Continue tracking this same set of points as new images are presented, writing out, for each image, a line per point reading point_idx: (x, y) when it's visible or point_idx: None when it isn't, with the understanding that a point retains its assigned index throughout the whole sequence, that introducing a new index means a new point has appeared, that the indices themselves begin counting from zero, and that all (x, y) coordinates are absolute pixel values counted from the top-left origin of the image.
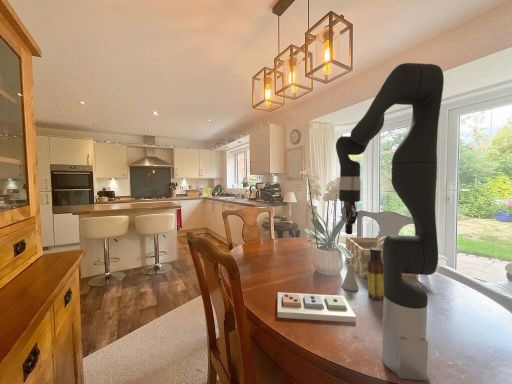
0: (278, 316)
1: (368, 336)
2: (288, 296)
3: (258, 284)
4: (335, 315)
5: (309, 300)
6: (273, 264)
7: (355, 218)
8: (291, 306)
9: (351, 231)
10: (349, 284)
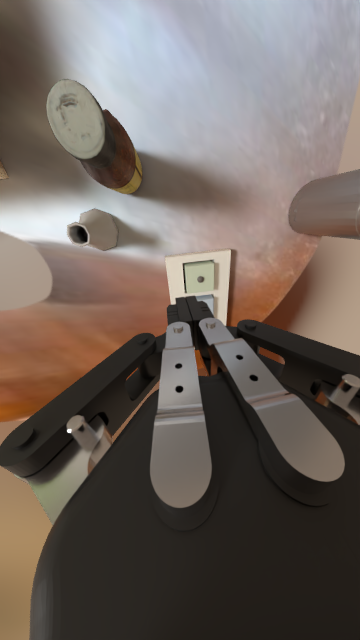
0: None
1: (258, 237)
2: None
3: None
4: (228, 280)
5: None
6: (55, 370)
7: (315, 347)
8: None
9: (206, 305)
10: (110, 236)
